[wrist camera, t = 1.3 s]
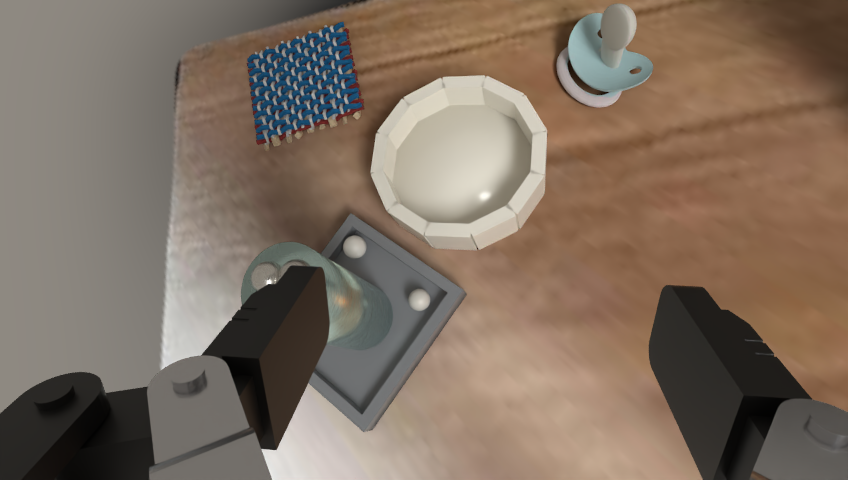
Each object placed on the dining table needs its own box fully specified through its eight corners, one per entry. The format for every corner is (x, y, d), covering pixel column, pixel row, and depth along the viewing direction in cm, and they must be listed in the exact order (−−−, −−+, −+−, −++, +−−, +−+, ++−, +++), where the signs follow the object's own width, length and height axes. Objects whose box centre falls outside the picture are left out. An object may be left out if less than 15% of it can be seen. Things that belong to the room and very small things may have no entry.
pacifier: (589, 126, 38) (658, 85, 38) (595, 81, 33) (677, 32, 32) (540, 62, 41) (604, 22, 40) (537, 9, 35) (612, -37, 35)
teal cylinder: (356, 272, 38) (269, 218, 26) (406, 308, 36) (337, 269, 24) (318, 324, 38) (211, 295, 25) (366, 364, 36) (275, 353, 24)
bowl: (445, 77, 42) (436, 51, 39) (578, 144, 38) (582, 121, 35) (356, 196, 41) (340, 180, 38) (483, 281, 36) (477, 271, 33)
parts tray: (358, 220, 40) (347, 209, 38) (466, 294, 36) (461, 287, 34) (270, 340, 39) (252, 337, 37) (372, 430, 35) (359, 433, 33)
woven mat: (251, 66, 48) (239, 52, 47) (350, 29, 47) (342, 14, 45) (262, 156, 45) (250, 146, 43) (370, 120, 43) (362, 108, 42)
